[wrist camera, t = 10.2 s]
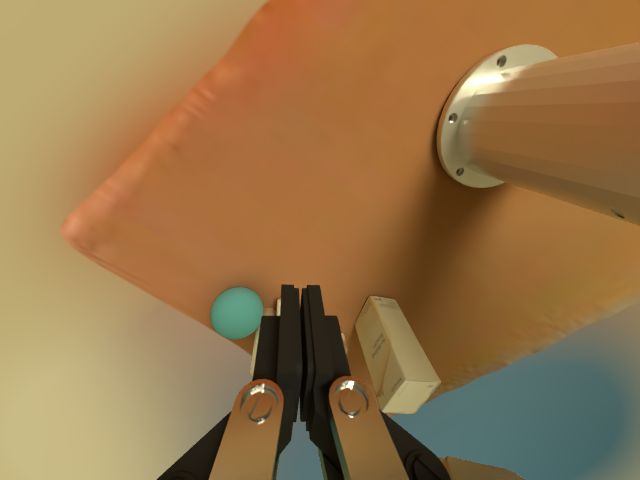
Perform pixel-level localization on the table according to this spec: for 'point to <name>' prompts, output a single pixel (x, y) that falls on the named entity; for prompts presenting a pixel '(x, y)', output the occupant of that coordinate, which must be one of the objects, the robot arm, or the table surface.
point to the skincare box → (394, 357)
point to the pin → (267, 312)
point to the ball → (236, 313)
